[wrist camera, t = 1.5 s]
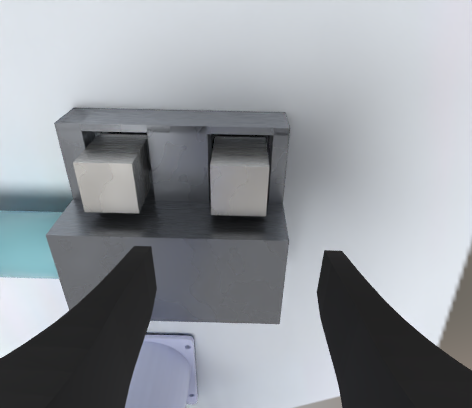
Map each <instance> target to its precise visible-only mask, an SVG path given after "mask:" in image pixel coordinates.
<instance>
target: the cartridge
mask: <svg viewBox="0 0 472 408" xmlns="http://www.w3.org/2000/svg"><path fill="white" fill-rule="evenodd" d="M62 213H63V212H41V211H0V277H11V278H51V279H59V276H58V273H57V270H56V267H55V263H54V260H53V257H52V254H51V251H50V248H49V245H48V241H47V238H46V234H47V233H48V231H49V230H50V229H51V227H52V226H53V225H54V223H55V222H56V221H57V220H58V218H59V217H60V216H61V214H62Z"/></svg>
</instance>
